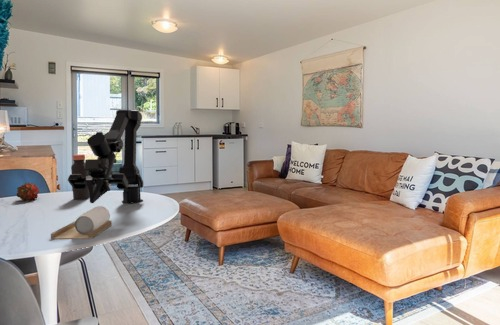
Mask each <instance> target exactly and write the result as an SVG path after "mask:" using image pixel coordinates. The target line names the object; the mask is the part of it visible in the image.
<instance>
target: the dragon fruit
mask: <svg viewBox="0 0 500 325" xmlns="http://www.w3.org/2000/svg"><path fill="white" fill-rule="evenodd" d="M16 189H17V191H16V197H18V198H20V200H22V201H28V202H29V200H30V201H31V200H37V198H38V197H39V195H38V194H40V188H39V187H38V186H37V185H36V184H33V182H32V183H31V182H27V183H23V184H22V185H21V186H18V187H17V188H16Z"/></svg>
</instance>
